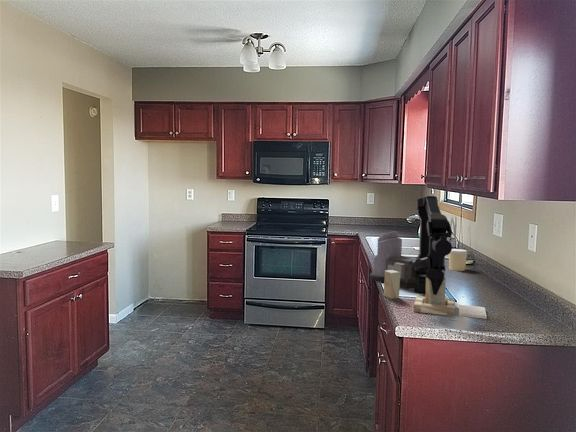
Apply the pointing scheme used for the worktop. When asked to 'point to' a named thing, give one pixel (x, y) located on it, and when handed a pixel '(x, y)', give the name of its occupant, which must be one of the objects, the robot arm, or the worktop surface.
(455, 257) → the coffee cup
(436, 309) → the frame
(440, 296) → the skincare box
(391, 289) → the box
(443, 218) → the robot arm
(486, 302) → the worktop surface
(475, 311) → the tile
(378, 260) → the juicer
